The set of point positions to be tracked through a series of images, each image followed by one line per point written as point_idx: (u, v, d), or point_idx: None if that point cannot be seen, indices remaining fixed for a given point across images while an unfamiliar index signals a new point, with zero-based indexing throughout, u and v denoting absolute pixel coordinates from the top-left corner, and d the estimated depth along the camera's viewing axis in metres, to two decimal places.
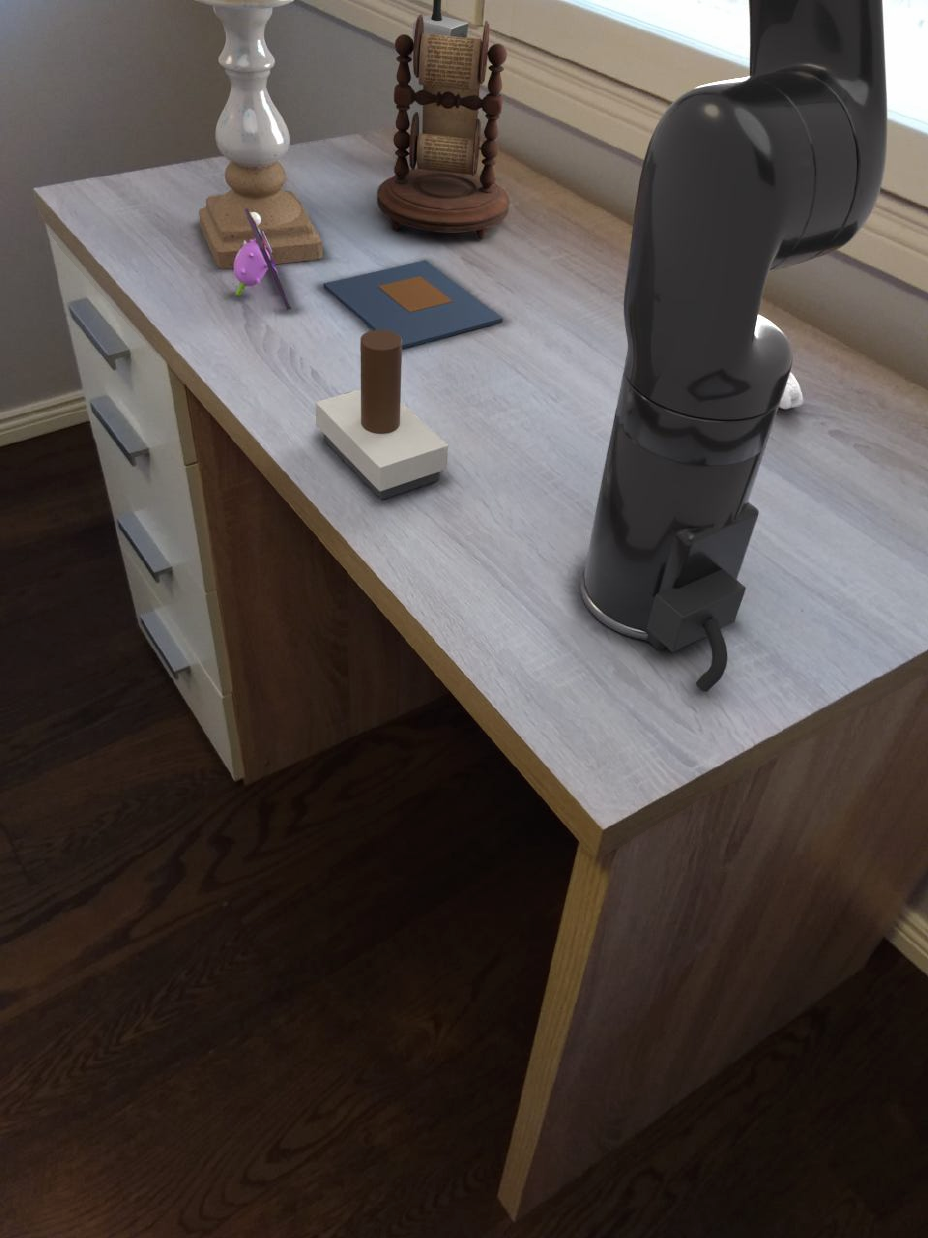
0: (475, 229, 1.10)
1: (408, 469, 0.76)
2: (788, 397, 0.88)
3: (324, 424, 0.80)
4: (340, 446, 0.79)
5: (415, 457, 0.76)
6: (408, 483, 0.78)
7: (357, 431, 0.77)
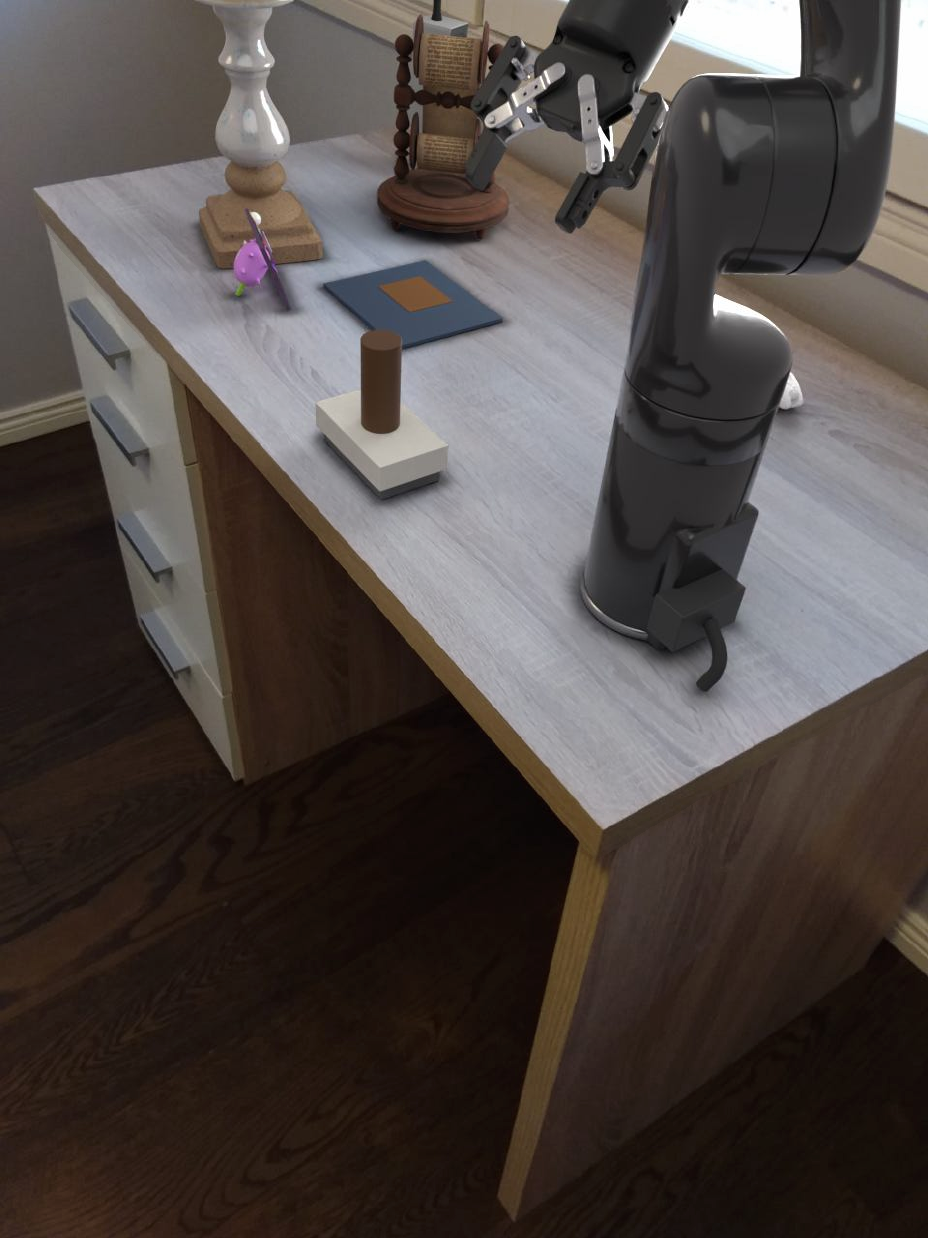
0: (475, 229, 1.10)
1: (408, 469, 0.76)
2: (788, 397, 0.88)
3: (324, 424, 0.80)
4: (340, 446, 0.79)
5: (415, 457, 0.76)
6: (408, 483, 0.78)
7: (357, 431, 0.77)
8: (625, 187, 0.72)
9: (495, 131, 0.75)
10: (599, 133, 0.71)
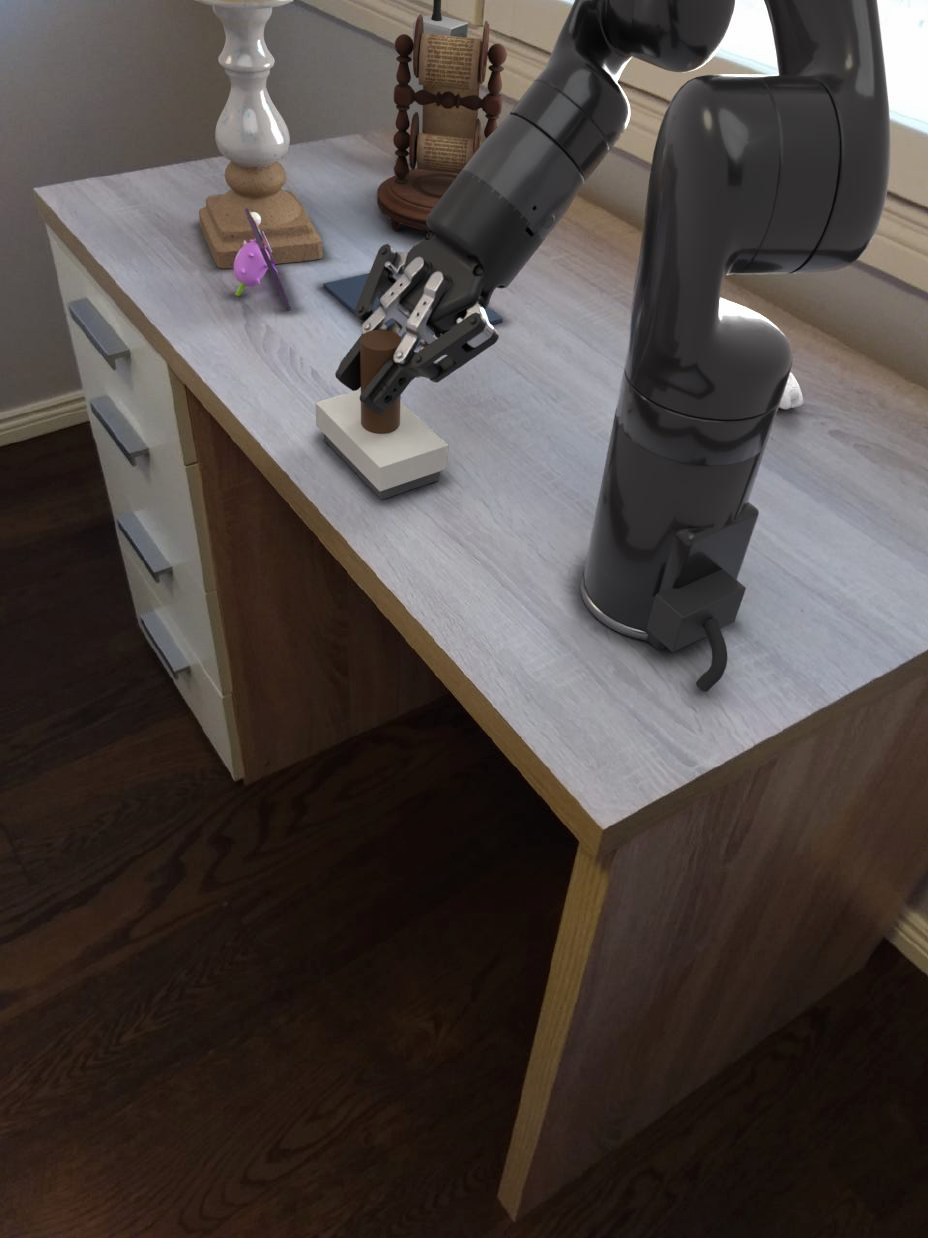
0: None
1: (408, 469, 0.76)
2: (788, 397, 0.88)
3: (324, 424, 0.80)
4: (340, 446, 0.79)
5: (415, 457, 0.76)
6: (408, 483, 0.78)
7: (357, 431, 0.77)
8: (428, 377, 0.73)
9: None
10: (417, 330, 0.72)
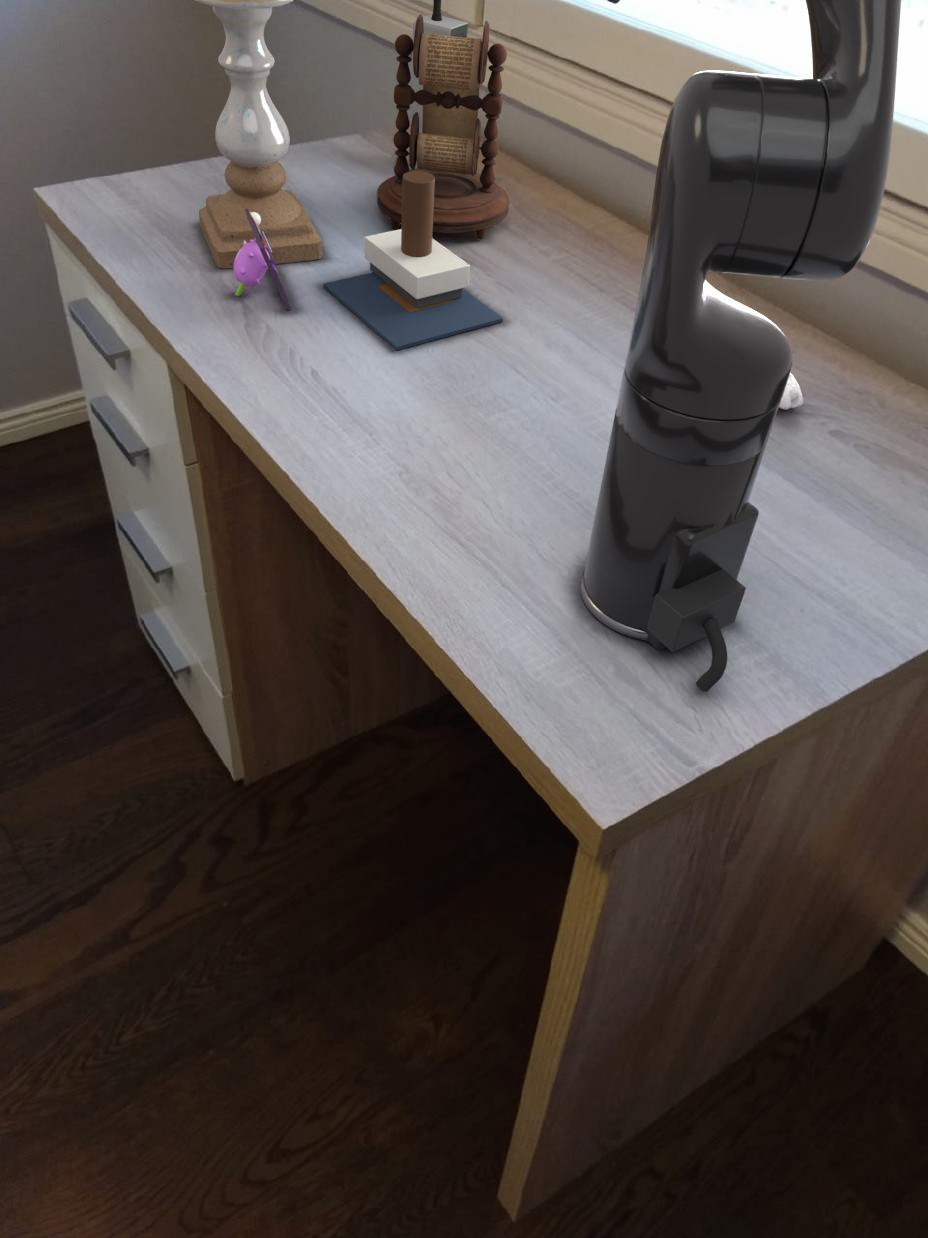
0: (475, 229, 1.10)
1: (439, 282, 0.97)
2: (788, 397, 0.88)
3: (371, 254, 1.01)
4: (384, 269, 1.00)
5: (444, 272, 0.97)
6: (438, 296, 0.99)
7: (398, 255, 0.99)
8: None
9: None
10: None
